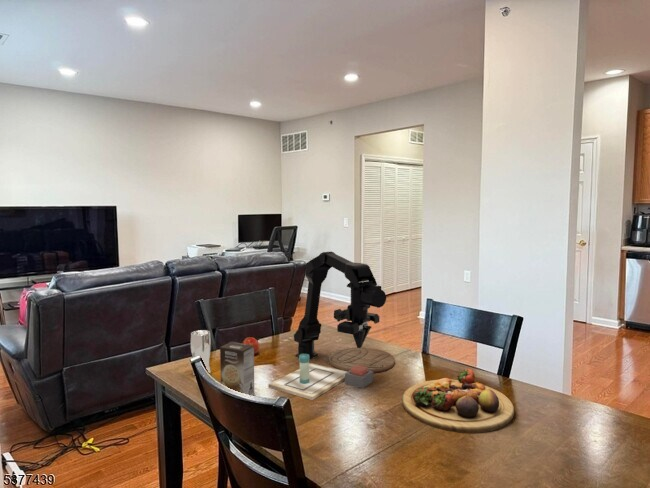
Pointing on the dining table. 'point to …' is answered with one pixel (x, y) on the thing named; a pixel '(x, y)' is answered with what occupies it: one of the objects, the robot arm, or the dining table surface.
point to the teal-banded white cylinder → (304, 368)
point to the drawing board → (318, 384)
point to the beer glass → (201, 346)
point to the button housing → (359, 379)
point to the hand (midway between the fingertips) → (359, 347)
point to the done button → (359, 370)
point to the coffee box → (237, 367)
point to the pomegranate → (252, 343)
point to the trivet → (362, 359)
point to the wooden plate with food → (458, 404)
